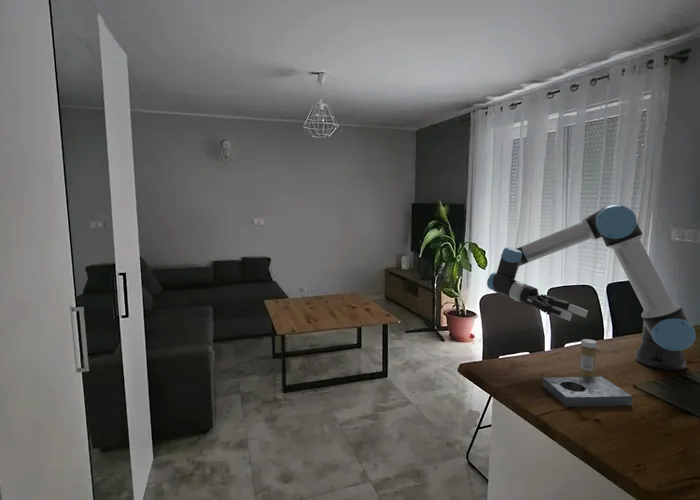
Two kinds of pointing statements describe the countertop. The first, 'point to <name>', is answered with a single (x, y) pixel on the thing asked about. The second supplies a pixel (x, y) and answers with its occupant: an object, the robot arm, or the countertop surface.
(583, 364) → the sprinkles bottle
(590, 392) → the jig
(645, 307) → the robot arm
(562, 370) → the countertop surface
